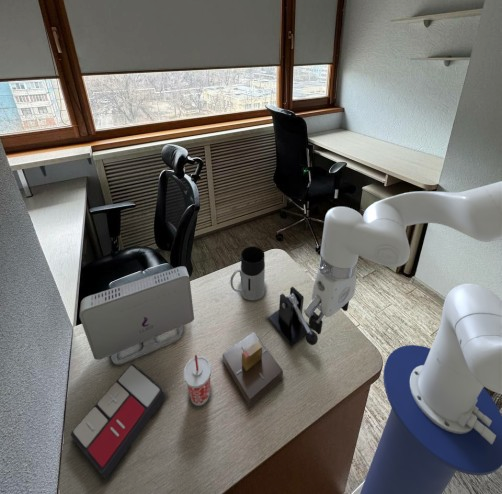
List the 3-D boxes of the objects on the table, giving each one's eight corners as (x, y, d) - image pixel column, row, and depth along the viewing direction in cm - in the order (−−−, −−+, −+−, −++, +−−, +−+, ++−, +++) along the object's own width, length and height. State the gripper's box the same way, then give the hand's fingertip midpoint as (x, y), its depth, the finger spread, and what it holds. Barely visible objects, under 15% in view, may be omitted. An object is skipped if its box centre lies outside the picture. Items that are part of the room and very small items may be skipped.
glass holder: (270, 288, 91) (272, 253, 85) (242, 317, 81) (241, 280, 76) (251, 274, 97) (251, 241, 91) (222, 300, 87) (220, 265, 81)
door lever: (315, 340, 73) (322, 340, 71) (307, 347, 71) (313, 347, 69) (290, 294, 78) (295, 291, 76) (282, 299, 76) (287, 297, 74)
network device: (96, 375, 67) (76, 320, 59) (98, 343, 74) (80, 290, 66) (196, 331, 77) (191, 280, 69) (189, 307, 84) (183, 258, 77)
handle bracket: (311, 330, 78) (315, 301, 73) (291, 347, 73) (294, 317, 69) (287, 305, 85) (289, 277, 81) (268, 319, 81) (269, 290, 76)
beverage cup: (182, 406, 61) (176, 368, 56) (192, 376, 67) (187, 339, 61) (208, 412, 60) (204, 374, 55) (216, 381, 66) (213, 344, 60)
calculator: (68, 432, 54) (131, 360, 66) (74, 441, 56) (134, 370, 68) (100, 472, 49) (162, 387, 61) (106, 481, 51) (165, 397, 63)
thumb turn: (257, 352, 69) (257, 340, 67) (261, 358, 68) (262, 346, 66) (241, 365, 66) (241, 352, 65) (245, 371, 65) (245, 359, 63)
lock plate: (282, 377, 67) (283, 369, 65) (249, 407, 61) (249, 399, 60) (253, 338, 76) (253, 330, 74) (222, 361, 70) (222, 353, 69)
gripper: (325, 294, 50) (316, 353, 57) (376, 255, 59) (363, 309, 66) (296, 269, 55) (291, 325, 62) (347, 237, 65) (338, 289, 72)
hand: (328, 317), depth 64 cm, fingers open, 9 cm apart
